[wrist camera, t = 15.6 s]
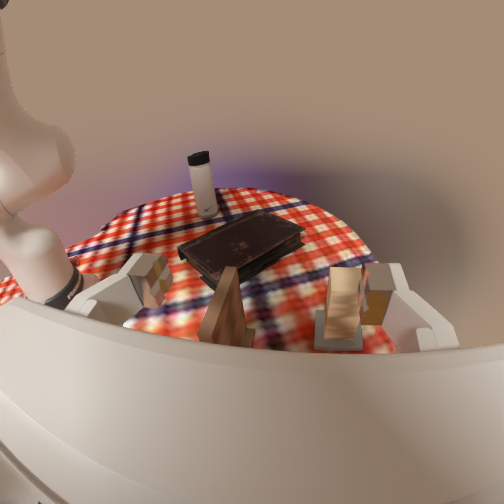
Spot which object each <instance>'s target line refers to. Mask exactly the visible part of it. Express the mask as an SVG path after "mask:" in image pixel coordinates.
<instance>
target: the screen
mask: <svg viewBox="0 0 504 504" xmlns="http://www.w3.org/2000/svg"><path fill="white" fill-rule="evenodd" d="M197 335H198V337H199V340H200V342H206V343H213V344H220V345H228V346H236V347H245V348H251V347H252V343H253V339H254V335H255V329H249V328H247V327H246V321H245V315H244V309H243V303H242V297H241V290H240V284H239V278H238V271H237V267H229V266H226V267H225V269H224V271H223V274H222V276H221V278H220V281H219V283H218V285H217V288H216V290H215V293H214V295H213V297H212V300H211V302H210V305H209V307H208V309H207V312H206V314H205V317H204V319H203V321H202V324H201V326H200V329H199V331H198V334H197Z"/></svg>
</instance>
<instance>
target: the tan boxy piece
mask: <svg viewBox="0 0 504 504" xmlns="http://www.w3.org/2000/svg"><path fill="white" fill-rule="evenodd" d="M361 278H362V275H361V268H342V267H330V272H329V281H328V289H327V297H326V305H325V312H324V340H347V341H354V338H355V334H356V331H357V327H358V324H359V321H360V315H359V310H360V305H359V304H358V296H357V293H358V284H359V280H360V279H361Z"/></svg>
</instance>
